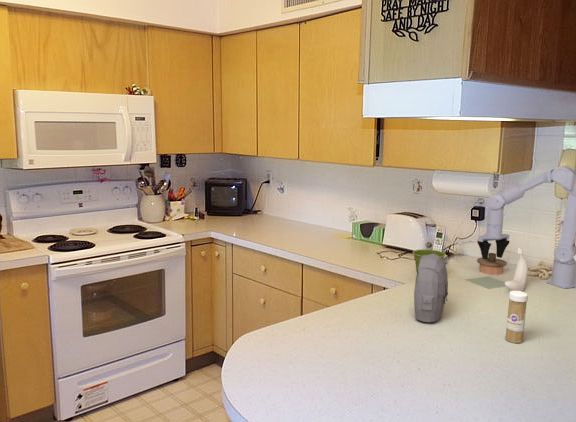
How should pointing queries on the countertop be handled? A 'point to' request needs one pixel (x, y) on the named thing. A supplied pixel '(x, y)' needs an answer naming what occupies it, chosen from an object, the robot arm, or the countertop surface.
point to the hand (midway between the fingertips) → (492, 258)
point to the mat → (487, 282)
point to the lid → (492, 261)
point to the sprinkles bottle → (516, 316)
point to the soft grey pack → (430, 288)
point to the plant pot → (420, 253)
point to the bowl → (491, 270)
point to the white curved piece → (519, 274)
